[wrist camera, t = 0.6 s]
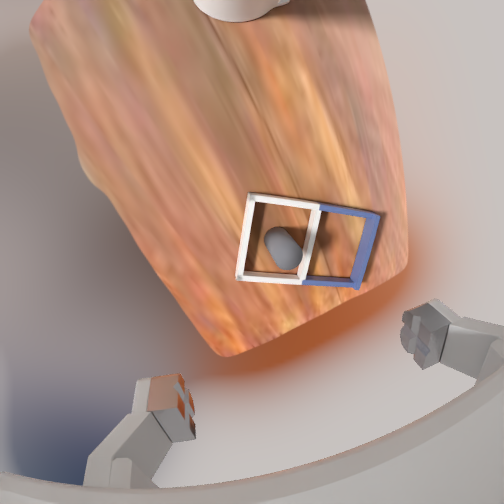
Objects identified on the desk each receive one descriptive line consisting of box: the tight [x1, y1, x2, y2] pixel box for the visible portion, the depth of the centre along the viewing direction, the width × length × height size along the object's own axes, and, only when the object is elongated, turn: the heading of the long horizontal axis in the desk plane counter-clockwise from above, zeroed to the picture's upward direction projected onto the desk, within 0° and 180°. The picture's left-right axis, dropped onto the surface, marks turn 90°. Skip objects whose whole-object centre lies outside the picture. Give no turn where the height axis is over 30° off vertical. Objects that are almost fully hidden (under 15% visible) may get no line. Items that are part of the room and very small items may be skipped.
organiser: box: [235, 192, 380, 290], centre depth 53 cm, size 15×24×3 cm, turn 81°
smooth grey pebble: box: [264, 227, 303, 270], centre depth 49 cm, size 4×4×8 cm
